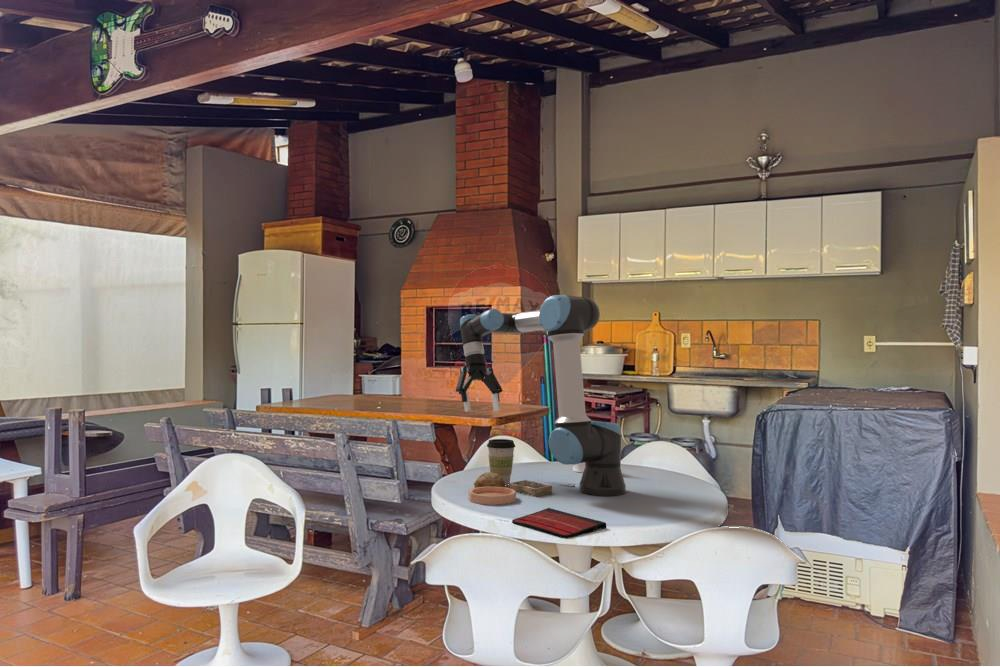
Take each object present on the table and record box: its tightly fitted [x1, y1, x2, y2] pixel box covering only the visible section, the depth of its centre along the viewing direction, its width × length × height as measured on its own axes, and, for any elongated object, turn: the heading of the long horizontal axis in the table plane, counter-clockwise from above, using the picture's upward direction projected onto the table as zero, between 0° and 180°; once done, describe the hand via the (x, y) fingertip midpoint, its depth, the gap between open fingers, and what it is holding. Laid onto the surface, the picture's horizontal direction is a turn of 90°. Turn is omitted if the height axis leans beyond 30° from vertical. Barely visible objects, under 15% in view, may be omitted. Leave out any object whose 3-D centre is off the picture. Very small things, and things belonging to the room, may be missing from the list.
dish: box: [467, 486, 517, 506], centre depth 215 cm, size 14×14×2 cm
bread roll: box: [473, 471, 506, 488], centre depth 227 cm, size 10×10×8 cm
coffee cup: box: [486, 438, 516, 486], centre depth 238 cm, size 10×10×15 cm
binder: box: [511, 507, 607, 539], centre depth 185 cm, size 16×2×21 cm
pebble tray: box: [508, 479, 553, 497], centre depth 226 cm, size 12×8×3 cm, turn 44°
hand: (482, 411), depth 252 cm, fingers open, 13 cm apart
